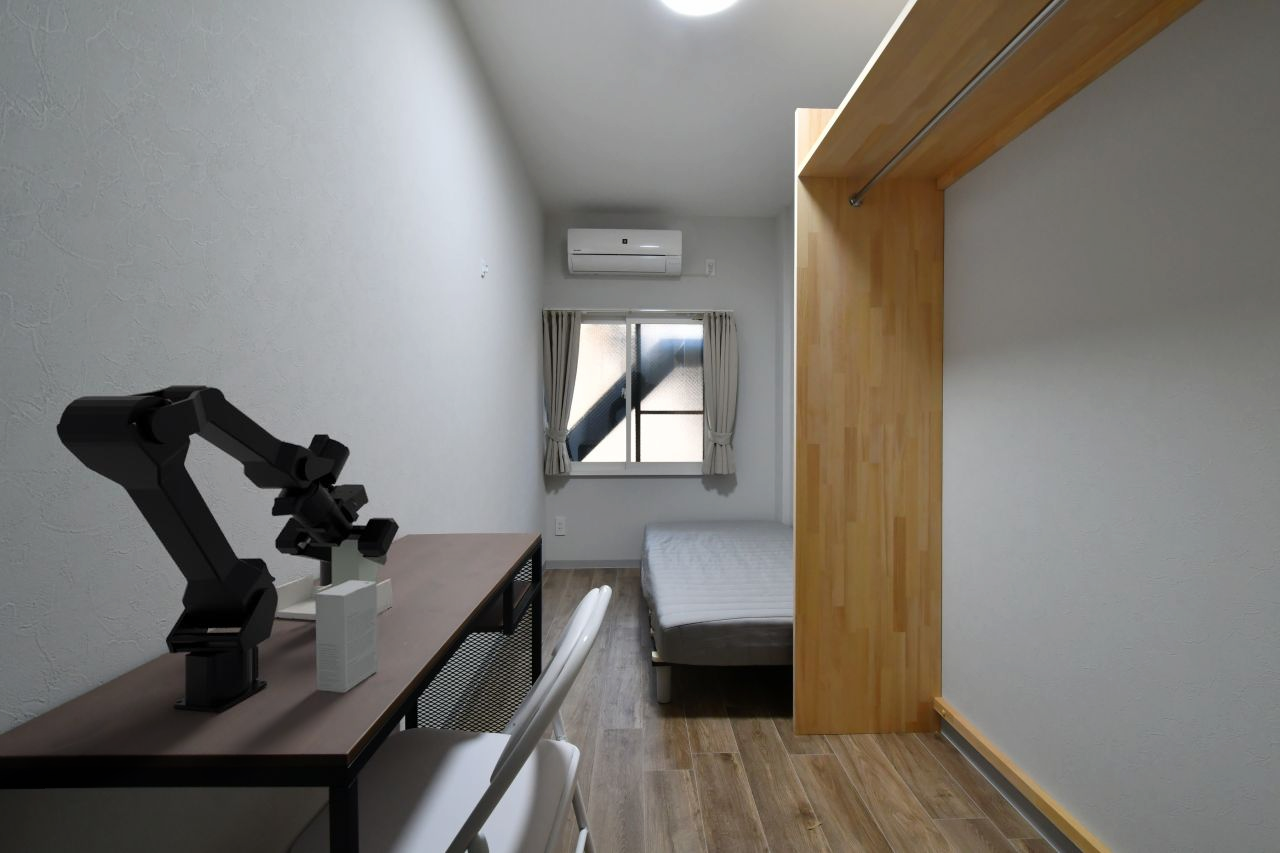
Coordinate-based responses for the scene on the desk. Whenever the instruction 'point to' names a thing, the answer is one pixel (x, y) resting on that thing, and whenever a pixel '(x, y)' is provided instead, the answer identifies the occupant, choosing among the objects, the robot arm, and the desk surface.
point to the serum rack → (301, 594)
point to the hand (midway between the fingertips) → (360, 561)
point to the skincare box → (346, 635)
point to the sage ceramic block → (351, 564)
